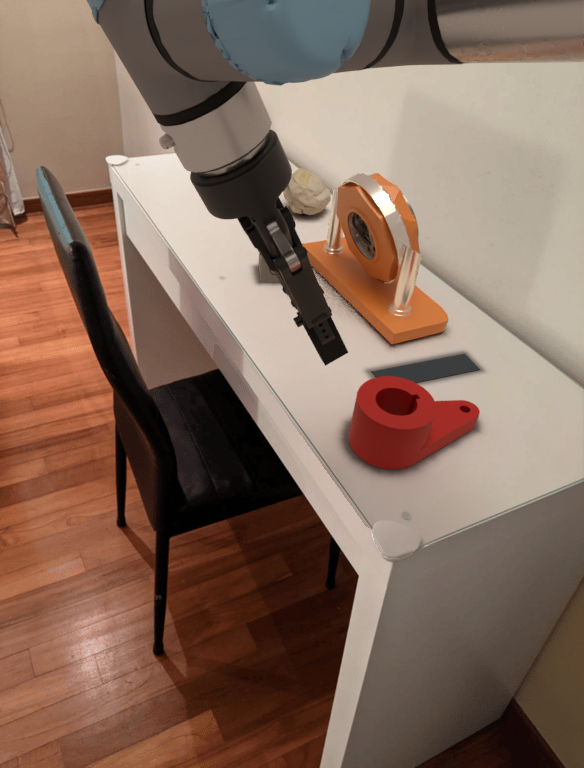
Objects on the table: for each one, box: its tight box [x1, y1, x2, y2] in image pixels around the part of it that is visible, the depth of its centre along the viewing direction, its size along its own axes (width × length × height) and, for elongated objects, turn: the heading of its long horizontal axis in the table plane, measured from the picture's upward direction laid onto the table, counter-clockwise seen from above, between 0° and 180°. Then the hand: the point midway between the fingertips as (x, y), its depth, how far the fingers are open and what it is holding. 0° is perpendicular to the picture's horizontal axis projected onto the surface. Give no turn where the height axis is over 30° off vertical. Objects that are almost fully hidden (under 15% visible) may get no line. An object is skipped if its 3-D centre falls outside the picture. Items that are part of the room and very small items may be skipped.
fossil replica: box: [282, 167, 332, 216], centre depth 125 cm, size 12×8×10 cm
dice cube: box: [257, 252, 280, 283], centre depth 104 cm, size 5×5×5 cm
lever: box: [348, 376, 481, 471], centre depth 75 cm, size 18×9×7 cm, turn 113°
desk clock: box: [302, 172, 449, 345], centre depth 98 cm, size 12×30×20 cm, turn 27°
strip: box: [370, 353, 481, 384], centre depth 88 cm, size 4×16×1 cm, turn 112°
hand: (334, 354), depth 62 cm, fingers closed
